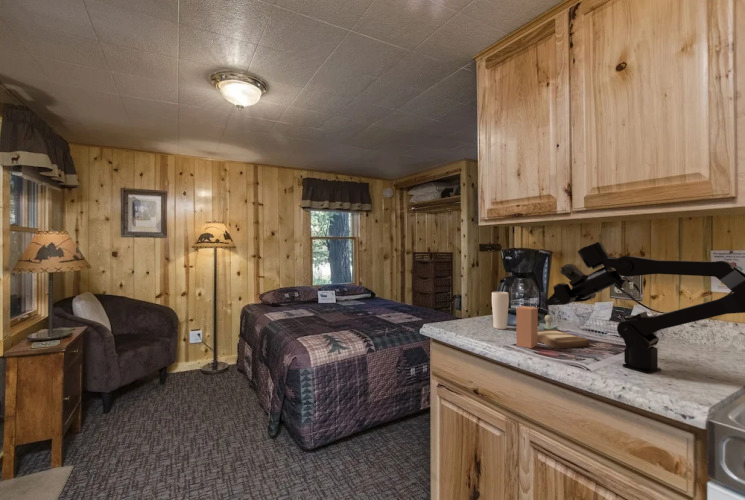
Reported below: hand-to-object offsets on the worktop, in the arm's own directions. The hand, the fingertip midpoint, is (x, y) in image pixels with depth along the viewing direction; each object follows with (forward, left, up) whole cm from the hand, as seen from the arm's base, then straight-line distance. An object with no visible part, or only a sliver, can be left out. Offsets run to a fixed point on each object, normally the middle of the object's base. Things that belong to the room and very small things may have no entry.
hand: (552, 302), depth 115 cm
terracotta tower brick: (+6, +5, -15) cm, 17 cm away
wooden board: (+6, -9, -15) cm, 19 cm away
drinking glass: (+30, -6, -15) cm, 35 cm away
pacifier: (+20, -24, -16) cm, 35 cm away
